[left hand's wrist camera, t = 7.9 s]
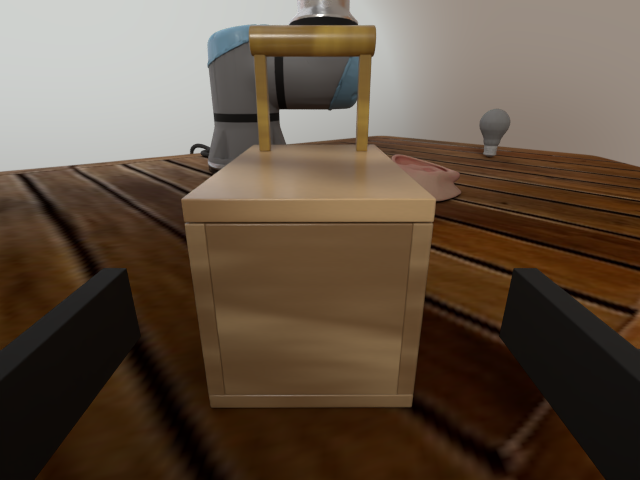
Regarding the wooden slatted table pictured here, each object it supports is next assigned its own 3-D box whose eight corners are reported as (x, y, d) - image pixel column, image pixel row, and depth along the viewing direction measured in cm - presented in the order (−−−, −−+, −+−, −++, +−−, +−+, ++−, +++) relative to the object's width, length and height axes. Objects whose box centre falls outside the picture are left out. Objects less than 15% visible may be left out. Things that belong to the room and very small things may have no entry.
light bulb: (480, 158, 80) (487, 109, 76) (471, 154, 86) (478, 108, 82) (508, 158, 80) (517, 109, 76) (497, 154, 85) (505, 108, 82)
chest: (259, 265, 30) (252, 158, 27) (369, 265, 30) (375, 158, 27) (210, 408, 16) (184, 224, 13) (412, 407, 16) (433, 223, 13)
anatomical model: (464, 172, 45) (371, 166, 49) (460, 204, 46) (370, 196, 50) (465, 156, 56) (389, 152, 60) (461, 182, 58) (388, 177, 62)
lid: (254, 156, 28) (246, 34, 25) (374, 156, 28) (380, 34, 25) (183, 222, 13) (144, -53, 10) (433, 222, 13) (466, -52, 10)
